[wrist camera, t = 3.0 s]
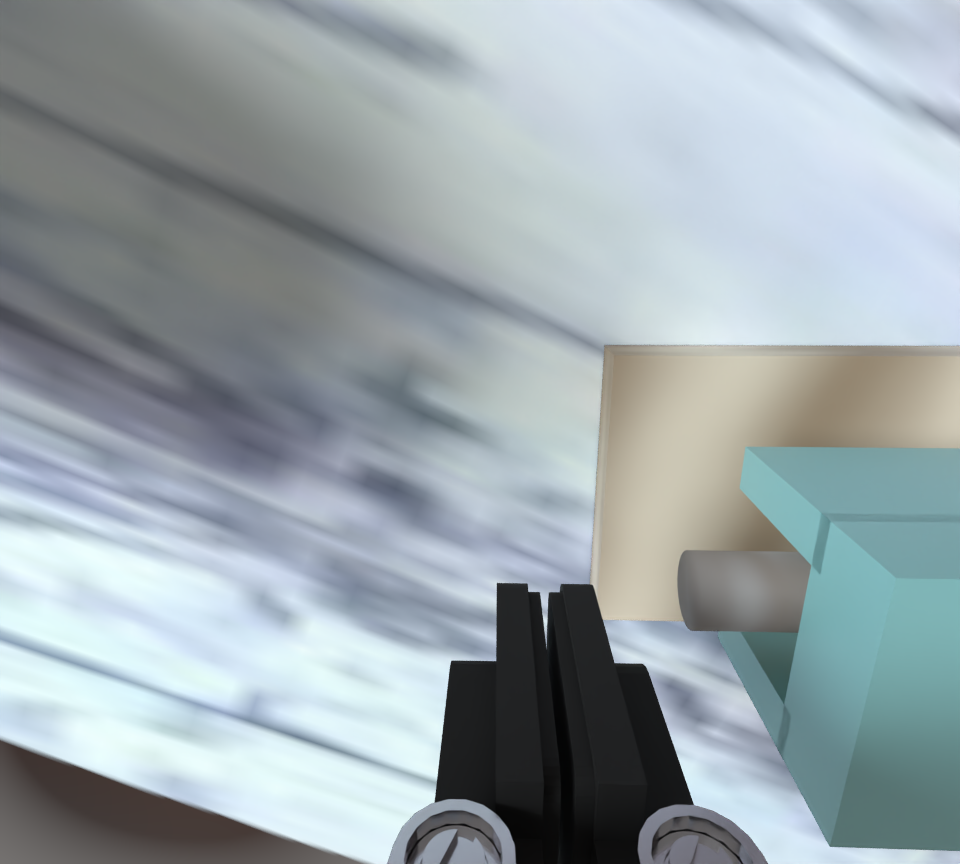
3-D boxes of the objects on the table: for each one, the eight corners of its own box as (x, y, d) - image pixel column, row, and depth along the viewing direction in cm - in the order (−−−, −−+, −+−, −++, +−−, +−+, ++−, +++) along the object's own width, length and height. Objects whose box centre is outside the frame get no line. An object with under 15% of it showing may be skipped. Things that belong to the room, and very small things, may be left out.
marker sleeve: (979, 448, 13) (1281, 584, 8) (925, 641, 14) (1150, 857, 9) (745, 446, 13) (896, 578, 8) (717, 637, 15) (829, 846, 10)
